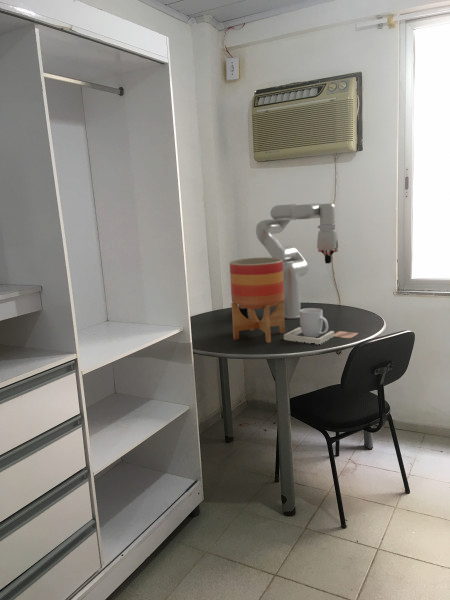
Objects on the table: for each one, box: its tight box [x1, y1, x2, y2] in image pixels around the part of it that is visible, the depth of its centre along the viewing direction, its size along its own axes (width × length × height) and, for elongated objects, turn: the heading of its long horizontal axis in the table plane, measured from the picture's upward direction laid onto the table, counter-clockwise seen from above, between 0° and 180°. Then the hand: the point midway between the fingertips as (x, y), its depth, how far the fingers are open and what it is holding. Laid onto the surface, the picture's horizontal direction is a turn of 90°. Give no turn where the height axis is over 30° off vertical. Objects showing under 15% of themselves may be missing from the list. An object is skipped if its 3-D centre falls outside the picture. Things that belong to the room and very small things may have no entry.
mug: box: [299, 307, 329, 338], centre depth 238 cm, size 15×11×13 cm
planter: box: [229, 256, 286, 344], centre depth 243 cm, size 27×27×38 cm
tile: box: [333, 330, 360, 339], centre depth 240 cm, size 10×10×1 cm
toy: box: [238, 306, 249, 319], centre depth 292 cm, size 12×7×30 cm
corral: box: [283, 326, 335, 345], centre depth 237 cm, size 19×16×2 cm
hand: (328, 263), depth 258 cm, fingers closed
